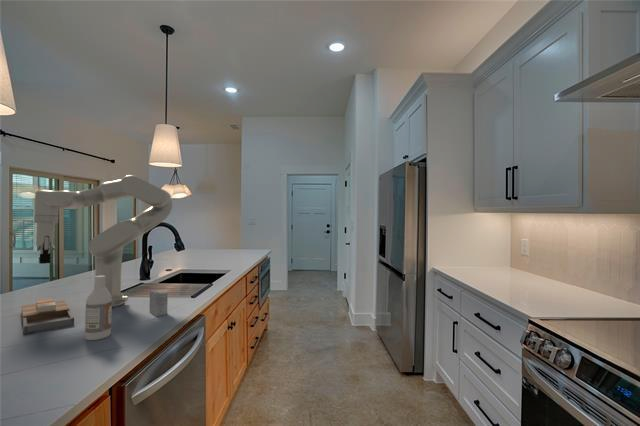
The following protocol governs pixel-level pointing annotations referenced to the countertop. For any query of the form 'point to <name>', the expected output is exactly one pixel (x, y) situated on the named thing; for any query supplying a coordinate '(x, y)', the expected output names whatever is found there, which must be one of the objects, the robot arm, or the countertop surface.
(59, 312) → the walnut board
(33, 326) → the tray
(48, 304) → the cream tile
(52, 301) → the terracotta tile
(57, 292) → the countertop surface
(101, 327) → the bath foam
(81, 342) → the countertop surface
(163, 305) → the medicine box
